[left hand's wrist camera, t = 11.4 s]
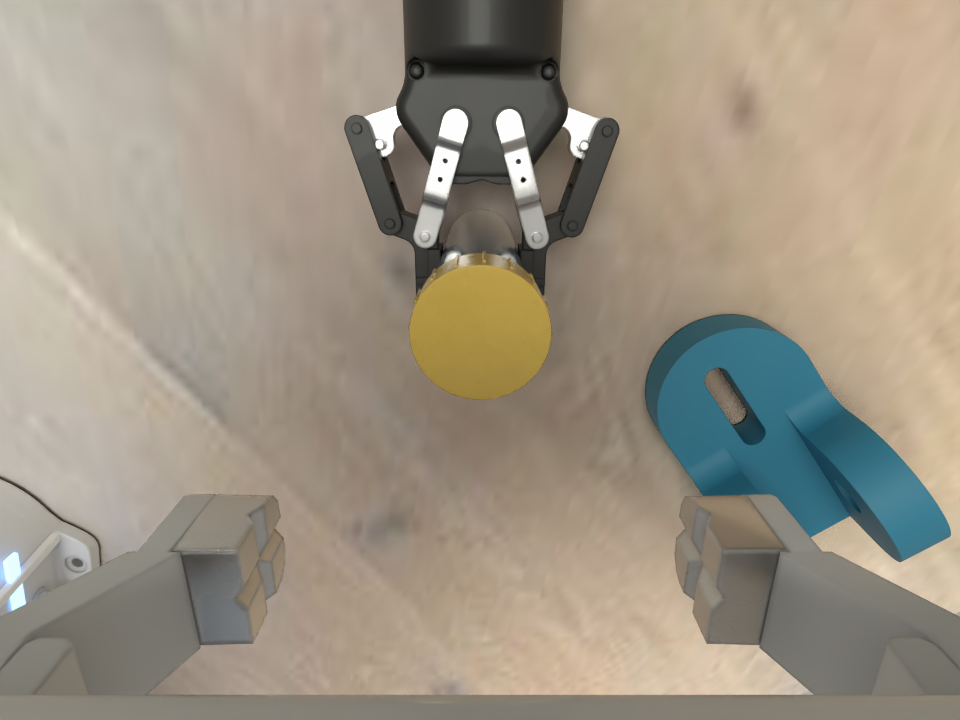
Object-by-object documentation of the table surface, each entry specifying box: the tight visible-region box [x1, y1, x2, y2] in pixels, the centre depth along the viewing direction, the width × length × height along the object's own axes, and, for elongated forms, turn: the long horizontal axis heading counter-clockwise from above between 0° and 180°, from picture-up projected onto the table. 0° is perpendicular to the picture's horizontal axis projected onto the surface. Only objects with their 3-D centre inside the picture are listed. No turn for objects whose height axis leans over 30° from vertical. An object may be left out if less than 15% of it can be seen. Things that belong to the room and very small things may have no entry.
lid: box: [409, 251, 552, 400], centre depth 22 cm, size 5×5×2 cm
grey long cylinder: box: [438, 209, 523, 268], centre depth 30 cm, size 4×4×19 cm
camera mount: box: [646, 315, 951, 562], centre depth 38 cm, size 18×10×10 cm, turn 37°
